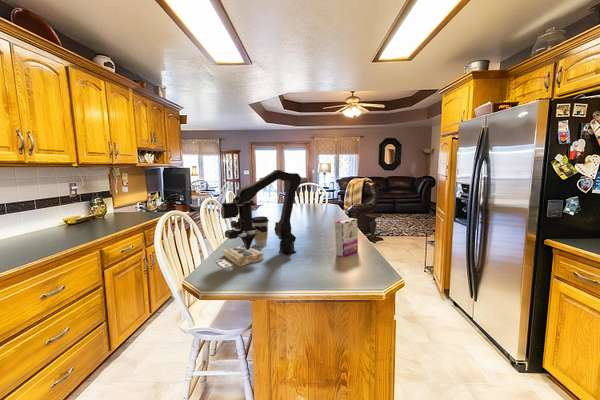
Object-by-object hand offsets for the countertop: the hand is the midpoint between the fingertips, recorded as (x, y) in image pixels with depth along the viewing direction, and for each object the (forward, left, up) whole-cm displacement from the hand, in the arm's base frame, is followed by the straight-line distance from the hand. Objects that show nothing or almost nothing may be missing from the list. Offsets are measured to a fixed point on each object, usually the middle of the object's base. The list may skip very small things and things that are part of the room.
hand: (247, 249), depth 124 cm
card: (+10, -4, -5) cm, 12 cm away
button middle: (0, -6, -3) cm, 6 cm away
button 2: (0, 0, -3) cm, 3 cm away
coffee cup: (-17, -18, -6) cm, 25 cm away
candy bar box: (-40, +24, -6) cm, 47 cm away
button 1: (0, -11, -4) cm, 12 cm away
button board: (0, -6, -5) cm, 8 cm away
